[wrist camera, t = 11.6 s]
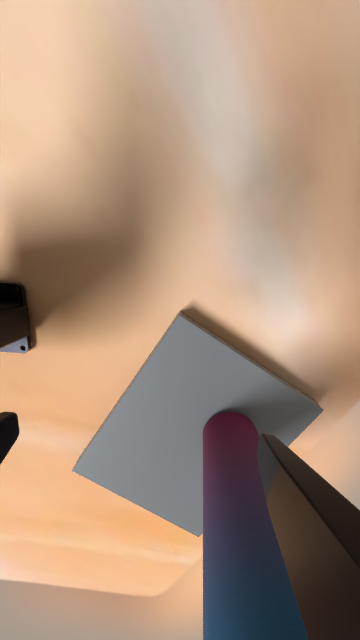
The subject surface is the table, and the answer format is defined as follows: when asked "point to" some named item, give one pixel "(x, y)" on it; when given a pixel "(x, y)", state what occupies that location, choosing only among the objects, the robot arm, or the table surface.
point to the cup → (241, 542)
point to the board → (185, 420)
